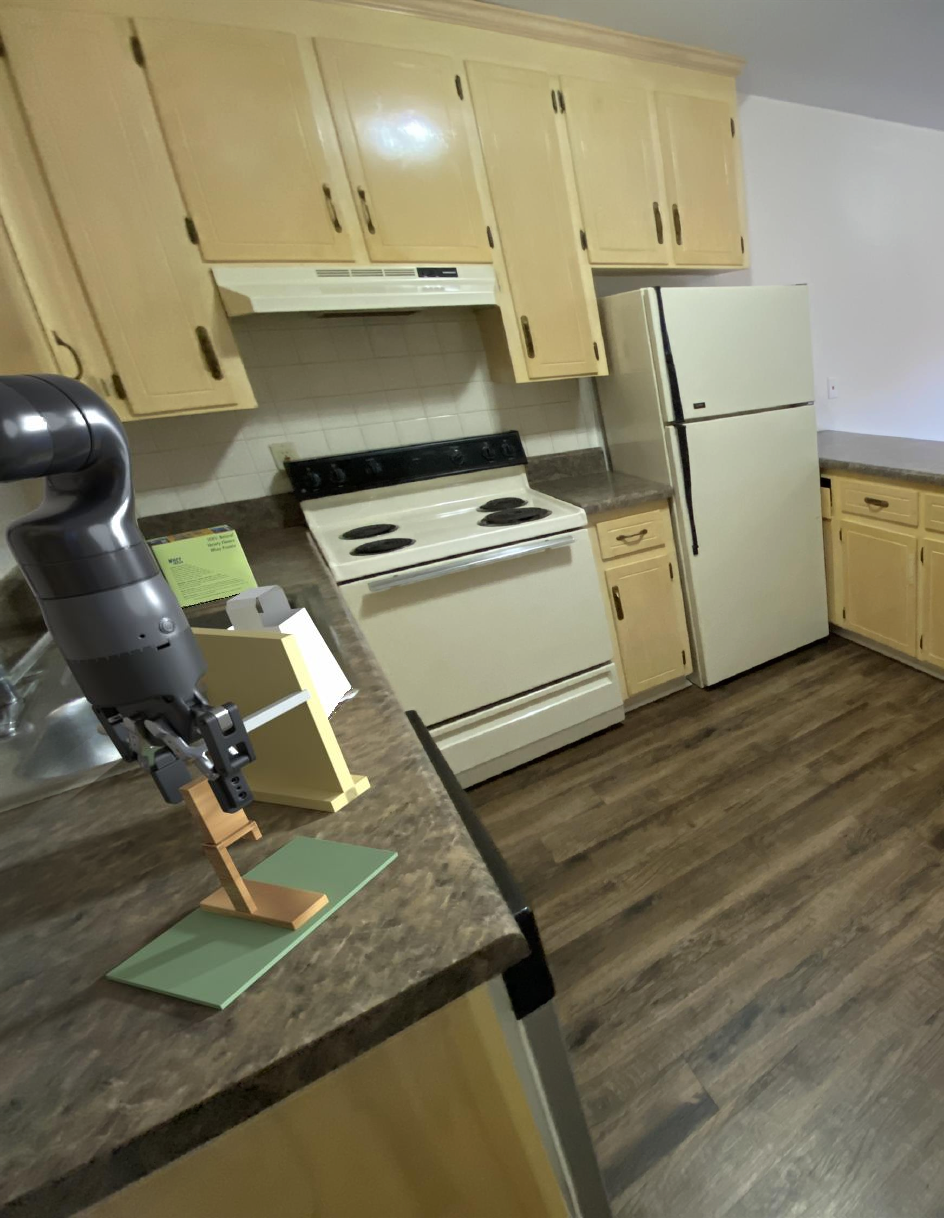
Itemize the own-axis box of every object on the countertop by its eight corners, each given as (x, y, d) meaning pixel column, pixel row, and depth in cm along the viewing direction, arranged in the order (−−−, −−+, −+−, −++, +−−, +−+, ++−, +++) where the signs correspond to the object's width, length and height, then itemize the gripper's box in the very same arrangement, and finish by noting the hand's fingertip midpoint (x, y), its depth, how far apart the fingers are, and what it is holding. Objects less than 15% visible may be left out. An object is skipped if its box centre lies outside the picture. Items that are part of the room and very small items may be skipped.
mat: (107, 979, 59) (104, 975, 58) (299, 839, 75) (297, 835, 74) (222, 1010, 55) (219, 1006, 55) (398, 855, 71) (396, 852, 71)
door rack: (268, 863, 71) (180, 683, 63) (159, 843, 76) (64, 673, 67) (372, 787, 83) (310, 627, 75) (273, 773, 87) (204, 621, 79)
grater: (245, 737, 97) (187, 611, 89) (282, 702, 106) (233, 585, 99) (324, 724, 99) (273, 600, 91) (354, 691, 108) (310, 576, 101)
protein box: (260, 589, 164) (235, 529, 158) (179, 610, 153) (149, 546, 148) (250, 582, 171) (226, 524, 165) (172, 601, 160) (143, 539, 154)
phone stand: (295, 931, 62) (230, 798, 56) (202, 910, 65) (131, 783, 59) (329, 901, 65) (270, 773, 59) (239, 884, 68) (175, 760, 62)
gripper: (8, 651, 52) (107, 820, 58) (134, 661, 48) (226, 842, 55) (120, 614, 59) (199, 770, 65) (239, 621, 55) (310, 785, 61)
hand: (211, 802), depth 60 cm, fingers open, 6 cm apart
